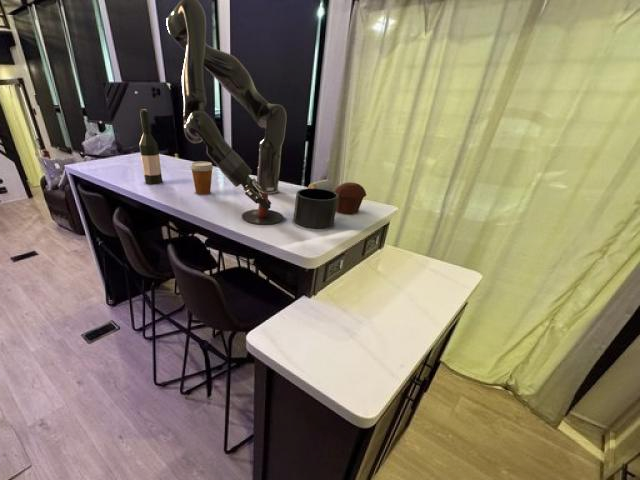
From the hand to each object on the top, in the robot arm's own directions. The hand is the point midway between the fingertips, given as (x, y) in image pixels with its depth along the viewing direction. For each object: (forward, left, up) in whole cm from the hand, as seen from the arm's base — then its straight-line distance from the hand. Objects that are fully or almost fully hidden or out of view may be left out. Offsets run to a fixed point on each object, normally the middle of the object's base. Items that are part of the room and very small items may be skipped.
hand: (268, 207), depth 108 cm
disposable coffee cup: (-40, -9, -5) cm, 41 cm away
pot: (+10, +12, -4) cm, 16 cm away
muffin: (+5, +32, -5) cm, 33 cm away
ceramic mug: (-9, +31, -5) cm, 33 cm away
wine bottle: (-66, -24, -5) cm, 70 cm away
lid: (-1, -2, -4) cm, 4 cm away
